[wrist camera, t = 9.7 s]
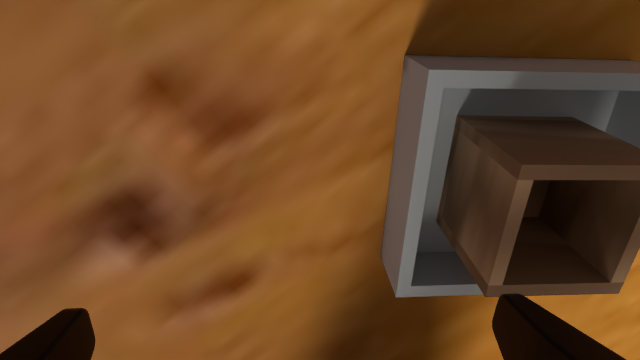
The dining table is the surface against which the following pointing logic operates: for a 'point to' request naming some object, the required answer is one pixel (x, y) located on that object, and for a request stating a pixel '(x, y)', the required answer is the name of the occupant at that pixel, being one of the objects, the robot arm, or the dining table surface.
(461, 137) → the walnut crate
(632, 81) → the grey crate
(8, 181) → the dining table surface
